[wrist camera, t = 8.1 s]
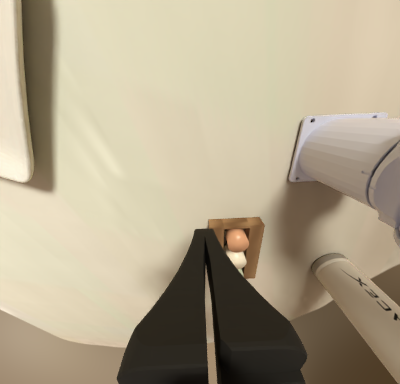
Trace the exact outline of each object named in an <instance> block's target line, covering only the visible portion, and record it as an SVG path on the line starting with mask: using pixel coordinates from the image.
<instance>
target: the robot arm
mask: <svg viewBox="0 0 400 384" xmlns="http://www.w3.org/2000/svg"><path fill="white" fill-rule="evenodd" d="M387 116H388V114H387V113H385V112H384V113H363V114H341V115H320V116H306V117H304V118H303V120H302V124H301V128H300V132H299V136H298V140H297V145H296V149H295V153H294V157H293V162H292V166H291V170H290V174H289V181H291V182H305V181H319V182H321V183H323V184H325V185H327V186H329V187H331V188H333V189H335V190H337V191H339V192H341V193H343V194H345V195H347V196H349V197H351V198H353V199H355V200H357V201H359V202H361V203H363V204H365V205H367V206H369V207H371V208H373V209H375V210H377V211H378V213H379V217H378V219H379V220H380V221H382V222H384V223H386V224H388V225H390V226H391V227H393V228H395V229H394V234H393V236H394V239H395V242H396V243H397V245H398V246H399V247H400V118H387ZM372 117H373V118H372ZM311 119H313V121H312V122H310V121H311ZM296 177H298V178H297V179H296ZM206 268H207V274H208V281H209V287H210V294H211V302H212V315H213V329H214V342H215V356H216V370H217V383H218V384H305V380H304V378H303V375H302V373H301V371H300V369H301V367H302V366H303V364H304V363H305V362H306V359H307V353H306V350H305V348H304V346H303V344H302V342H301V340H300V338H299V337H298V335H297V333H296V331H295V330H294V328H293V326H292V325H291V323H290V322H289V321H288V320H287V319H286V318H285V317H284V316H283V315H282V314H280V313H279V312H278V311H277V310H276V309H275V308H274V307H273V306H272V305H270V304H269V303H268V302H267V301H266V300H265V299H264V298H263V297H262V296H261V295H260V294H259V293H258V292H257V291H256V290H255V289H254V287H253V286H252V285H251V284H250V283H249V282H248V281H247V280H246V279H245V278H244V276H243V275H242V274H241V273H240V272H239V270H238V269H237V268H236V267H235V265H234V264H233V263H232V261H231V260H230V258H229V257H228V255H227V254H226V252H225V251H224V249H223V247H222V246H221V244H220V242H219V240H218V238H217V236H216V234H215V232H214V229H212V228H210V229H196V230H195V231H194V236H193V239H192V242H191V245H190V247H189V250H188V252H187V254H186V256H185V258H184V260H183V262H182V264H181V266H180V268H179V270H178V272H177V273H176V275H175V277H174V278H173V280H172V281H171V283H170V284H169V286H168V287H167V289H166V290H165V292H164V293H163V294H162V296H161V297H160V298H159V300H158V301H157V302H156V304H155V305H154V306H153V307H152V309H151V310H150V311H149V312H148V313H147V315H146V316H145V317H144V318H143V319H142V321H141V322H140V323H139V324H138V325H137V326H136V328H135V329H134V331H133V334H132V336H131V338H130V340H129V343H128V345H127V348H126V350H125V353H124V356H123V360H122V362H121V367H120V369H119V372H118V376H117V381H118V383H119V384H209V383H208V361H207V339H206V318H205V269H206Z"/></svg>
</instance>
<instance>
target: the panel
mask: <svg viewBox="0 0 400 384" xmlns="http://www.w3.org/2000/svg"><path fill="white" fill-rule="evenodd" d="M264 227H265V225H264V223H263V222H262V220H261V219H260V217H252V218H231V219H210V220H209V229H210V228H212V229H214V232H215V234H216V236H217V238H218V240H219V242H220V244H221V246H222V247H223V246H224V229H243V228H245V234H246V237H247V239H248V241H249V246H248V248H247V249H246V250H245V251H243V253H244V256H245V258H246V262H247V263H246V265H245V266H244V267H243V268H242V271H243V275H244V278H245V279H249V278H255V274H256V269H257V264H258V259H259V253H260V248H261V243H262V237H263V232H264Z"/></svg>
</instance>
